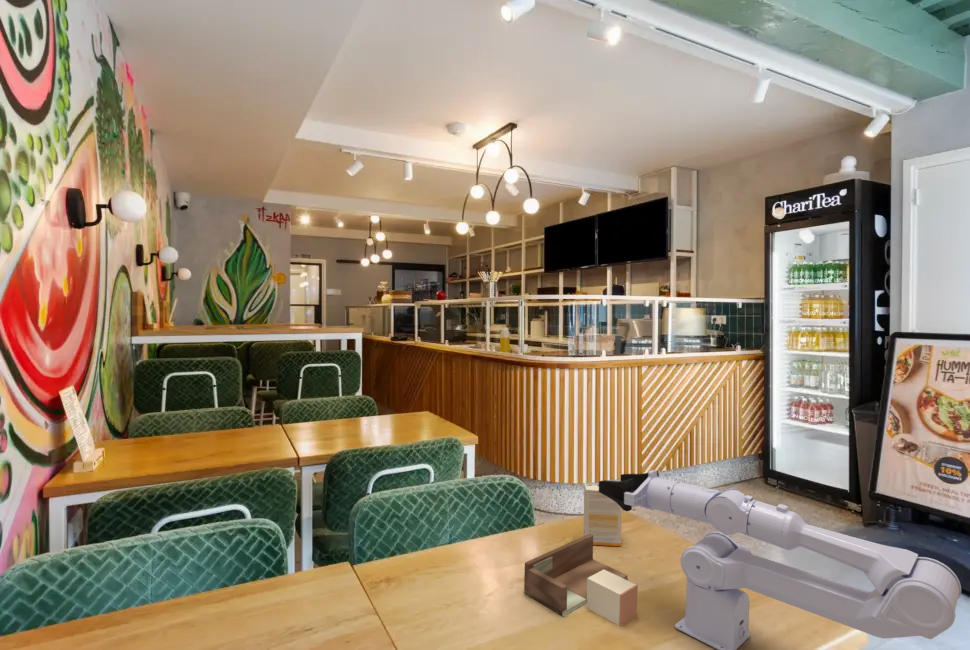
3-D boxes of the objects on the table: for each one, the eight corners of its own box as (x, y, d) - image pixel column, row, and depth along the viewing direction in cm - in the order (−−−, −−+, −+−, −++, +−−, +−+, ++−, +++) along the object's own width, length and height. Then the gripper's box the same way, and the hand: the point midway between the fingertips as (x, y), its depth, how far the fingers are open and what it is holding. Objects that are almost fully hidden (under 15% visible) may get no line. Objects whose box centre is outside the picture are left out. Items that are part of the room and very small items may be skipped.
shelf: (627, 579, 105) (628, 549, 105) (563, 616, 92) (563, 583, 92) (588, 561, 113) (589, 533, 112) (524, 593, 99) (524, 562, 99)
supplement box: (617, 538, 124) (619, 483, 124) (620, 547, 119) (622, 490, 119) (582, 535, 125) (584, 481, 125) (584, 545, 120) (585, 488, 120)
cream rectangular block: (636, 615, 93) (637, 585, 93) (620, 626, 90) (621, 595, 90) (602, 597, 98) (603, 569, 98) (586, 607, 95) (587, 578, 95)
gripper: (695, 469, 98) (630, 457, 108) (657, 482, 88) (589, 468, 98) (695, 507, 98) (630, 491, 107) (657, 525, 87) (589, 506, 97)
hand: (610, 482), depth 102 cm, fingers open, 7 cm apart
